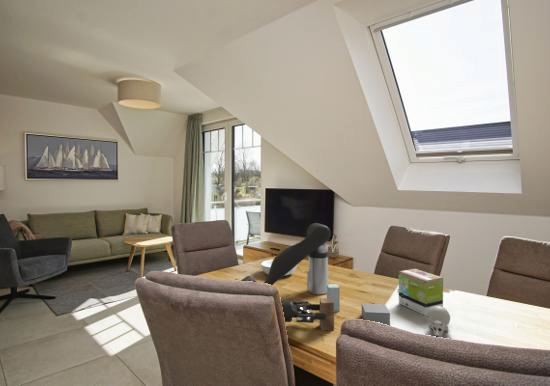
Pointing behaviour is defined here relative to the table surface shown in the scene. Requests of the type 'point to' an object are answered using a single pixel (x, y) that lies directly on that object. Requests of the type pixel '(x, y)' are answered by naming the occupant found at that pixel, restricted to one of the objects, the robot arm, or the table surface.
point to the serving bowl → (267, 265)
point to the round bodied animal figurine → (439, 320)
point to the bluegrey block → (334, 295)
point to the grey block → (376, 313)
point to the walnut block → (327, 313)
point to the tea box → (420, 290)
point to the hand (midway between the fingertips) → (323, 311)
